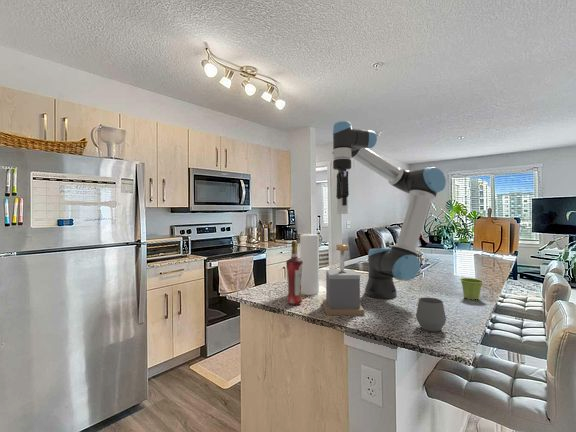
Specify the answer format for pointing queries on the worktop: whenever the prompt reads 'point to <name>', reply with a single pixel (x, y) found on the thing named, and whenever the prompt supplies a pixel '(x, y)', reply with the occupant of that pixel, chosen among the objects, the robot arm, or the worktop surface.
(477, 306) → the worktop surface
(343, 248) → the plunger
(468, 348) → the worktop surface
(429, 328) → the cup
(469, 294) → the plant pot
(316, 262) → the cylinder container
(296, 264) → the liquor
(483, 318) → the worktop surface
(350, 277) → the press
